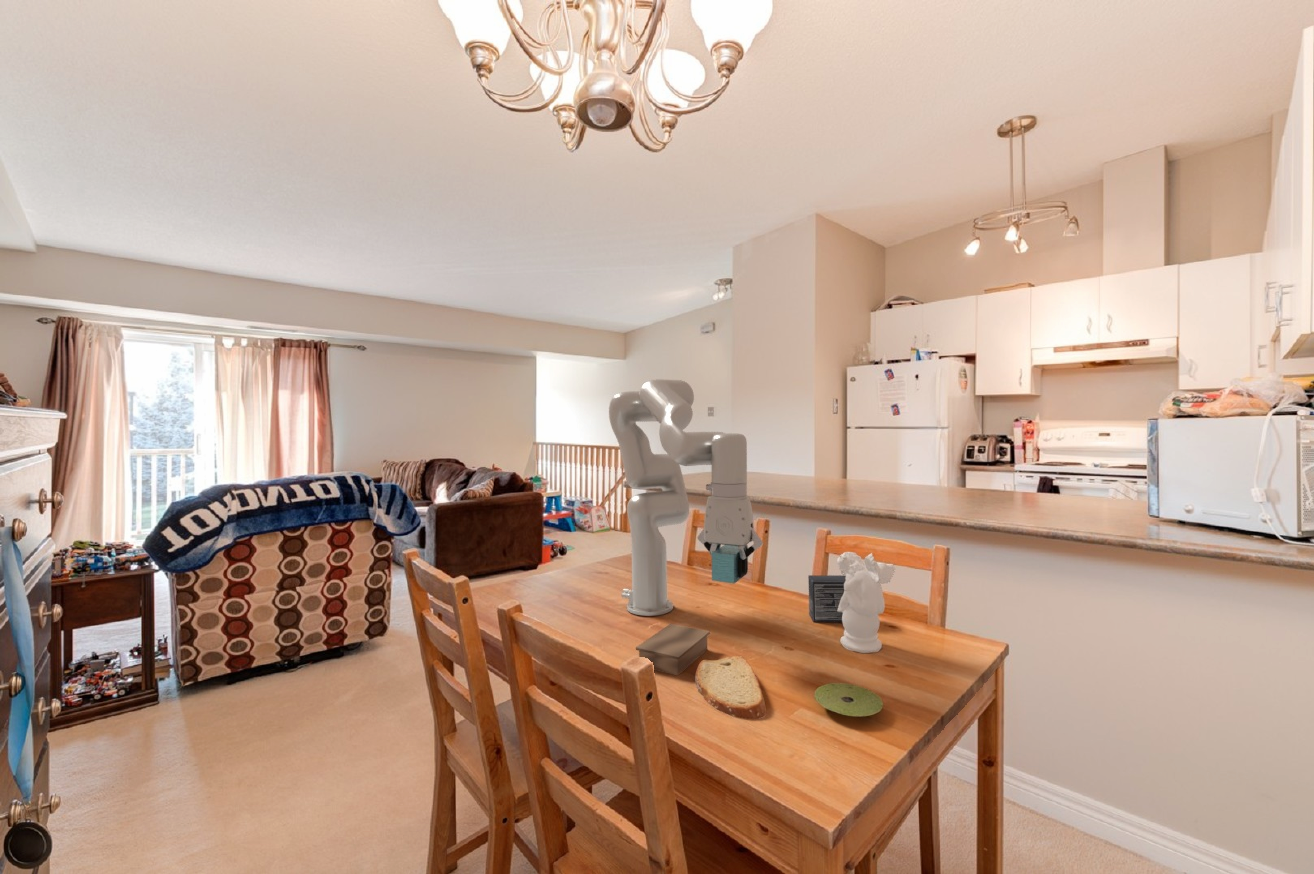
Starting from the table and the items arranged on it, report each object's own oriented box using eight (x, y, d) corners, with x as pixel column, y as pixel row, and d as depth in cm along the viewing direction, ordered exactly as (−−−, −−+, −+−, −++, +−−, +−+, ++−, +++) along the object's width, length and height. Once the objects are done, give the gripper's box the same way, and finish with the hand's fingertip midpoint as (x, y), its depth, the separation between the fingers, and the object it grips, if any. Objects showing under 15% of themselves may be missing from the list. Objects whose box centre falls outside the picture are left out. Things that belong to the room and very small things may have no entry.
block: (711, 580, 114) (711, 552, 114) (725, 570, 121) (725, 544, 121) (734, 583, 111) (734, 555, 111) (746, 573, 118) (746, 546, 118)
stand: (636, 666, 111) (635, 647, 111) (670, 640, 124) (670, 623, 124) (678, 677, 106) (678, 657, 106) (710, 649, 119) (710, 631, 119)
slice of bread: (757, 726, 89) (757, 704, 89) (667, 696, 100) (667, 676, 99) (796, 683, 104) (796, 663, 104) (714, 660, 114) (714, 643, 114)
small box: (849, 614, 139) (849, 574, 139) (856, 623, 133) (856, 581, 133) (808, 613, 140) (807, 573, 140) (813, 622, 134) (812, 581, 134)
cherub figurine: (832, 637, 125) (830, 543, 125) (883, 634, 126) (881, 541, 126) (856, 658, 113) (854, 554, 113) (912, 655, 114) (910, 552, 114)
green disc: (829, 686, 101) (829, 676, 101) (891, 705, 94) (891, 694, 94) (803, 711, 93) (803, 700, 93) (870, 735, 86) (870, 723, 86)
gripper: (685, 490, 116) (686, 573, 117) (762, 495, 108) (762, 584, 109) (700, 486, 123) (700, 565, 123) (773, 490, 115) (773, 575, 115)
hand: (729, 573), depth 116 cm, fingers closed on block, 5 cm apart
